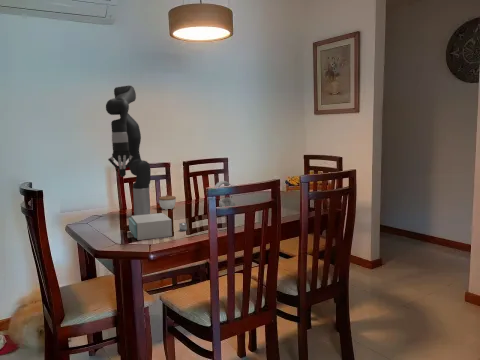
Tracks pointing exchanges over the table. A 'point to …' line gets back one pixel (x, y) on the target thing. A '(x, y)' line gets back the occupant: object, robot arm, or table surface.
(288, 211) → the table surface
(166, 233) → the housing
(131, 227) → the grey drawer
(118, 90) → the robot arm
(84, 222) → the table surface
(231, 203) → the headphones
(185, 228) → the stand
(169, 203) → the lidded jar
